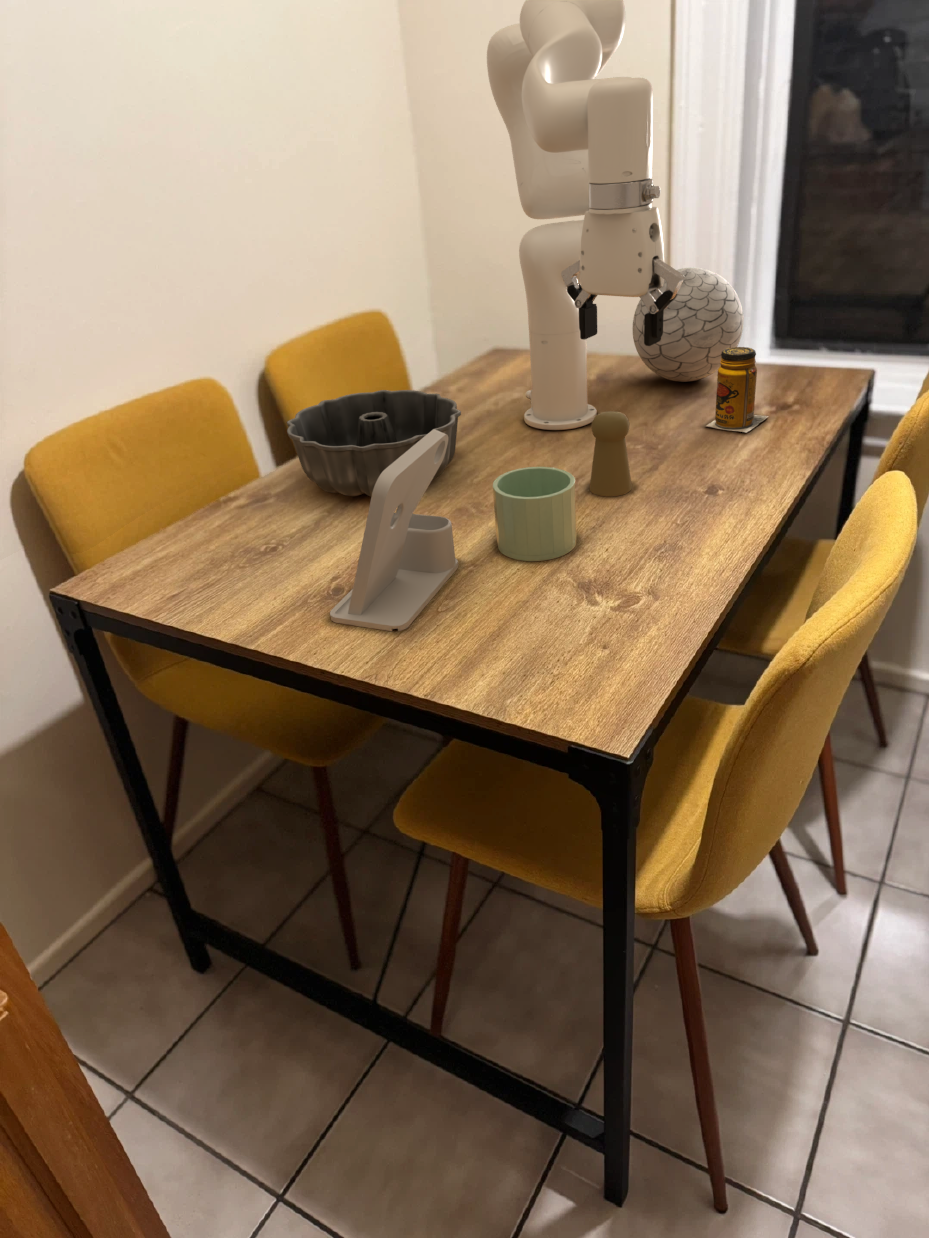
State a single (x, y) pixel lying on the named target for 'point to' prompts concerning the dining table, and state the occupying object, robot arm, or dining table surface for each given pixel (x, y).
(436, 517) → the phone holder
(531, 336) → the robot arm
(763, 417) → the condiment
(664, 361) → the decorative sphere
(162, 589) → the dining table surface
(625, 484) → the brown game pawn
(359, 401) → the bundt pan
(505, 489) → the cup
